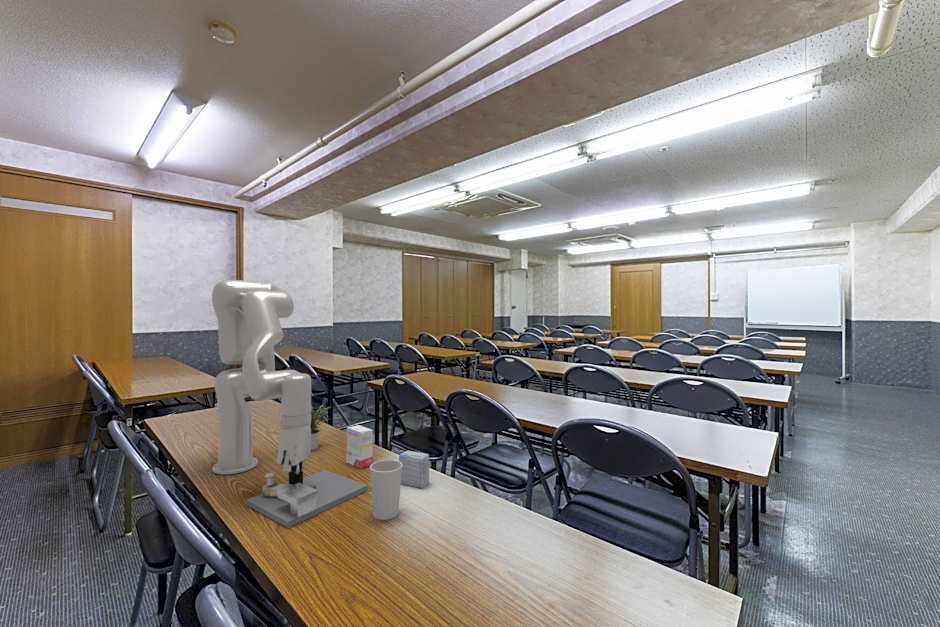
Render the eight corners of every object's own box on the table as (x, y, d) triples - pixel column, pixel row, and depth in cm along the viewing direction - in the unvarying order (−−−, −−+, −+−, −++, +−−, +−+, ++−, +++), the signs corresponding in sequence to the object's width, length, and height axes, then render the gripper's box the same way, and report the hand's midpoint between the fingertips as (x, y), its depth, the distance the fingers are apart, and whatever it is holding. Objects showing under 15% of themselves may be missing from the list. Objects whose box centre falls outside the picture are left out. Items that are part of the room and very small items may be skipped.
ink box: (373, 465, 133) (373, 429, 133) (360, 469, 129) (361, 432, 129) (358, 458, 138) (358, 424, 138) (345, 462, 135) (345, 427, 134)
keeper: (277, 508, 100) (277, 490, 100) (299, 499, 105) (299, 482, 105) (295, 518, 96) (296, 499, 96) (318, 508, 101) (318, 490, 101)
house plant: (342, 446, 150) (342, 403, 150) (309, 458, 138) (309, 410, 138) (317, 440, 157) (317, 398, 157) (284, 450, 146) (284, 405, 146)
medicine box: (429, 483, 119) (429, 453, 119) (421, 489, 115) (421, 458, 115) (407, 478, 122) (407, 449, 122) (398, 484, 118) (398, 454, 118)
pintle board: (246, 505, 105) (246, 478, 105) (325, 474, 125) (325, 451, 125) (288, 528, 94) (288, 497, 94) (367, 490, 114) (367, 465, 114)
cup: (407, 508, 104) (408, 462, 104) (391, 524, 96) (392, 473, 96) (380, 503, 106) (380, 458, 106) (363, 518, 99) (363, 469, 99)
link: (259, 496, 106) (259, 488, 106) (267, 490, 109) (267, 482, 109) (309, 499, 104) (309, 491, 104) (316, 492, 108) (316, 485, 108)
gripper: (297, 412, 117) (296, 475, 118) (266, 427, 103) (266, 499, 103) (322, 413, 117) (321, 476, 117) (295, 428, 102) (294, 500, 102)
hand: (295, 486), depth 110 cm, fingers closed
